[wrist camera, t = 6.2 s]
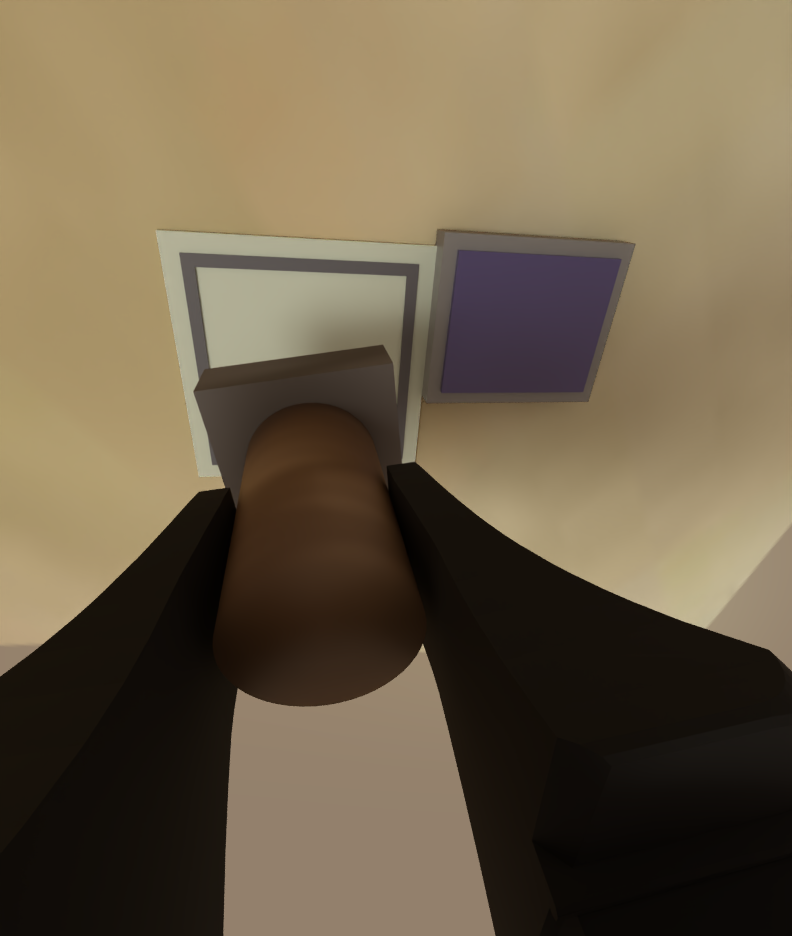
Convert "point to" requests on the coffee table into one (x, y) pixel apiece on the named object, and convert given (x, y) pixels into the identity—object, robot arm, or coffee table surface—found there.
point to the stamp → (311, 527)
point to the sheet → (296, 309)
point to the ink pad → (520, 316)
